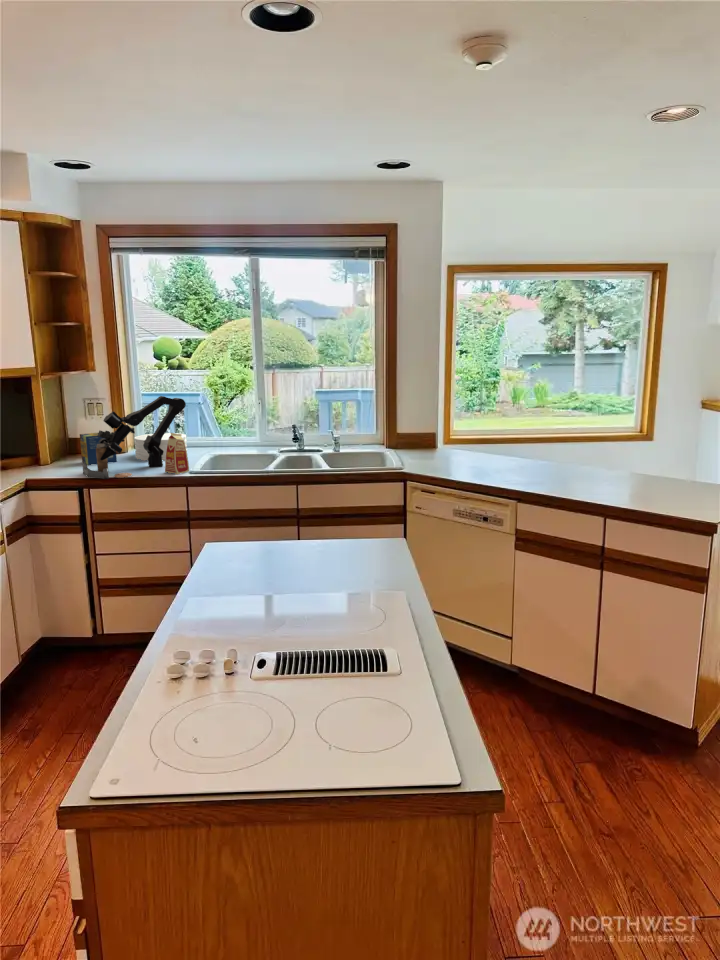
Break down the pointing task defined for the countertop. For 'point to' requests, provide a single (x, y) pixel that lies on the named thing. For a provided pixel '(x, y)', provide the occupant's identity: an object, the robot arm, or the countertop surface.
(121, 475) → the trivet
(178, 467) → the milk carton
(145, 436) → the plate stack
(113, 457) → the protein box
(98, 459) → the pepper mill
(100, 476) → the gray curved bracket
